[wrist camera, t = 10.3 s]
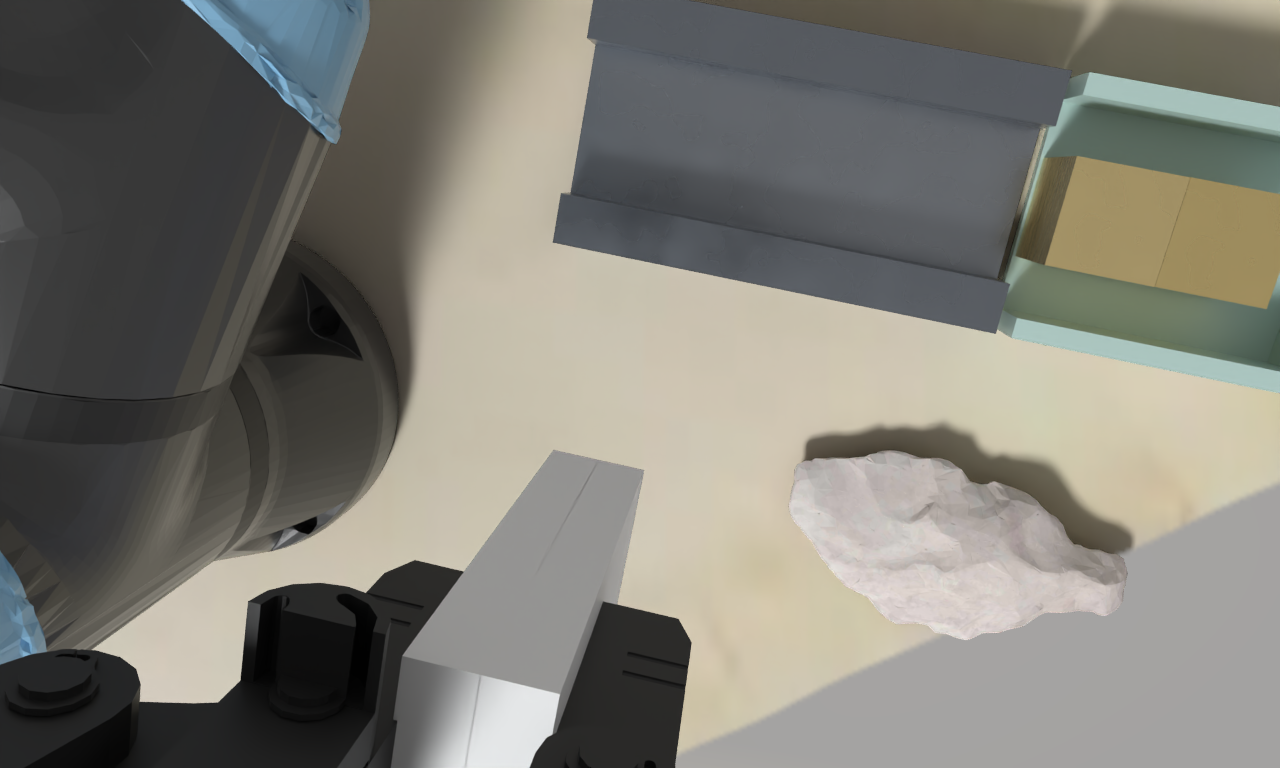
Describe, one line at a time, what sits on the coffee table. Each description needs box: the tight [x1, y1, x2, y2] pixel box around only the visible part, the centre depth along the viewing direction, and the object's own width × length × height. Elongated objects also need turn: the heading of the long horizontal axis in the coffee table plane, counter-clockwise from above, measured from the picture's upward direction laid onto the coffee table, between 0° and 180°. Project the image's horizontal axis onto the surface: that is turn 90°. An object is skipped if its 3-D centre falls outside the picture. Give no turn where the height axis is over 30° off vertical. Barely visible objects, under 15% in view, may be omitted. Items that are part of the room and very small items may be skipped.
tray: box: [997, 72, 1280, 393], centre depth 36 cm, size 12×10×3 cm
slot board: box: [553, 0, 1072, 334], centre depth 37 cm, size 18×10×3 cm, turn 79°
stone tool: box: [789, 450, 1128, 640], centre depth 40 cm, size 8×3×15 cm
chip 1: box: [1015, 156, 1190, 287], centre depth 35 cm, size 4×4×4 cm
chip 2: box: [1155, 177, 1280, 309], centre depth 35 cm, size 4×4×4 cm
